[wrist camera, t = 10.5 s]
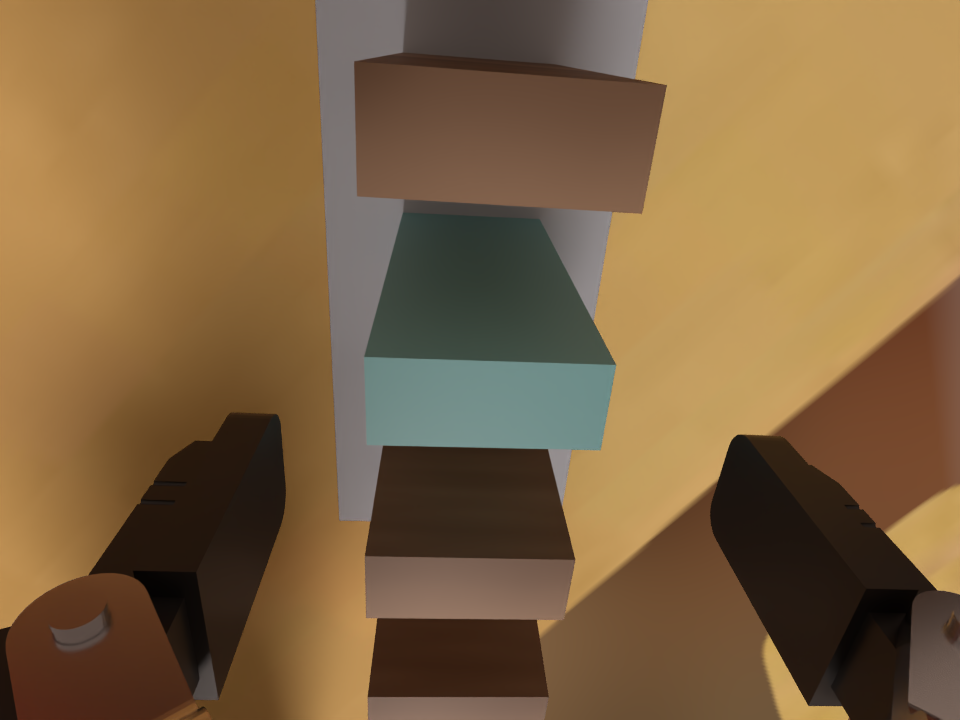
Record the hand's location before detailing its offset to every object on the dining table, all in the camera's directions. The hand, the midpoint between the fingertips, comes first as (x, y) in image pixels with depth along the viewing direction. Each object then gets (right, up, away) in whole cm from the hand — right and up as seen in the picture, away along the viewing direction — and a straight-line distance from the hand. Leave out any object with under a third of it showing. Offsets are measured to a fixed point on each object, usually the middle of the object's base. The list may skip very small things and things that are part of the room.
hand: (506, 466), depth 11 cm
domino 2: (-1, +6, +11) cm, 13 cm away
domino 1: (-1, +10, +9) cm, 14 cm away
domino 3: (-1, +2, +13) cm, 13 cm away
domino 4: (-2, -3, +16) cm, 16 cm away
